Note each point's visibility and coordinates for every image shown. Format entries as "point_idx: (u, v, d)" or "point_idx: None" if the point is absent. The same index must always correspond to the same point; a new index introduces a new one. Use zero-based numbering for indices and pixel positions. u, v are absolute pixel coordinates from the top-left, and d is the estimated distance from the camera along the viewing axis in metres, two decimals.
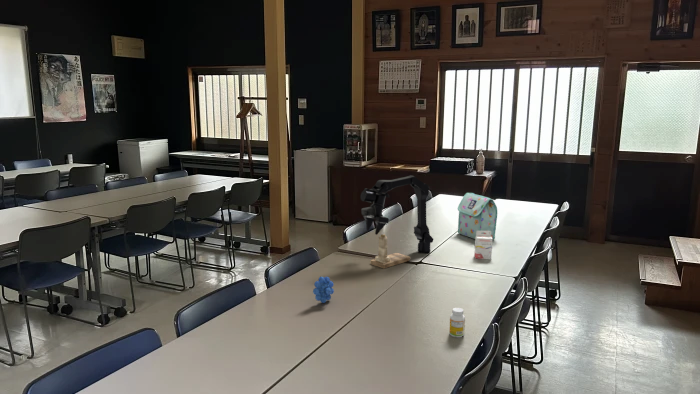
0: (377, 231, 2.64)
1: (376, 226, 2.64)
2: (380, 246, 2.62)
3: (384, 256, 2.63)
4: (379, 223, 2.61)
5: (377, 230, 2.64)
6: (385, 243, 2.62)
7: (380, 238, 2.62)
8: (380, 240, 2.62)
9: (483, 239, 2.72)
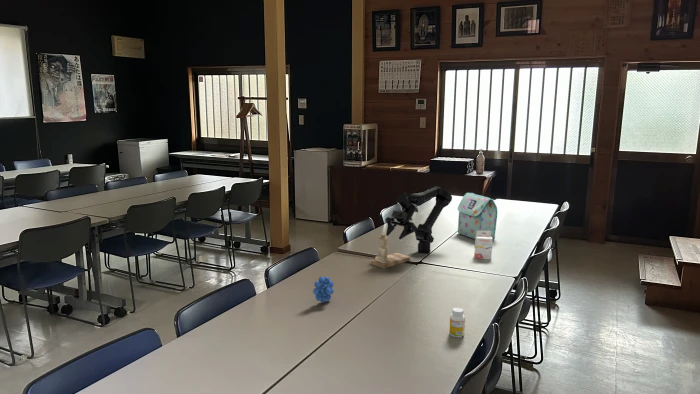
0: (402, 236, 2.64)
1: (403, 231, 2.65)
2: (380, 246, 2.62)
3: (384, 256, 2.63)
4: (408, 228, 2.63)
5: (402, 235, 2.64)
6: (385, 243, 2.62)
7: (380, 238, 2.62)
8: (380, 240, 2.62)
9: (483, 239, 2.72)
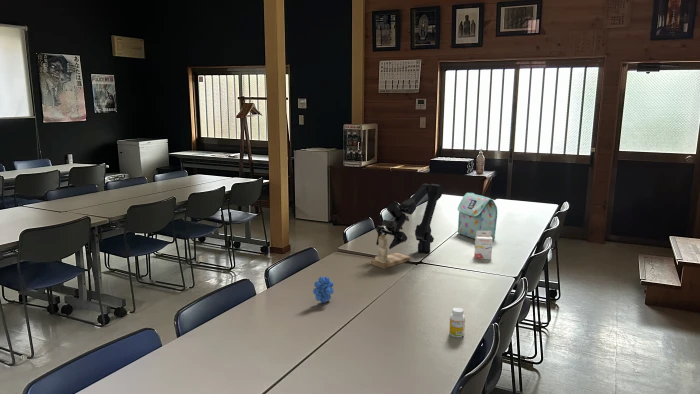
0: (392, 246, 2.60)
1: (393, 240, 2.60)
2: (380, 246, 2.62)
3: (384, 256, 2.63)
4: (399, 237, 2.59)
5: (392, 244, 2.60)
6: (385, 243, 2.62)
7: (380, 238, 2.62)
8: (380, 240, 2.62)
9: (483, 239, 2.72)
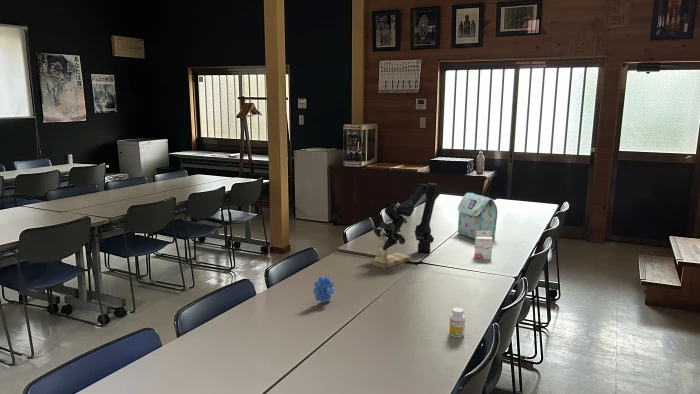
0: (386, 247, 2.61)
1: (387, 242, 2.62)
2: (380, 246, 2.62)
3: (384, 256, 2.63)
4: (392, 239, 2.60)
5: (386, 246, 2.61)
6: (385, 243, 2.62)
7: (380, 238, 2.62)
8: (380, 240, 2.62)
9: (483, 239, 2.72)
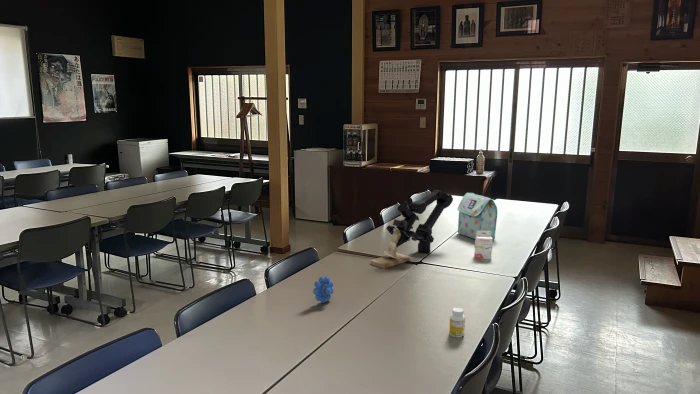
0: (399, 244, 2.68)
1: (400, 238, 2.68)
2: (392, 241, 2.68)
3: (393, 251, 2.67)
4: (405, 236, 2.67)
5: (399, 243, 2.68)
6: (398, 239, 2.68)
7: (395, 233, 2.69)
8: (394, 235, 2.69)
9: (483, 239, 2.72)
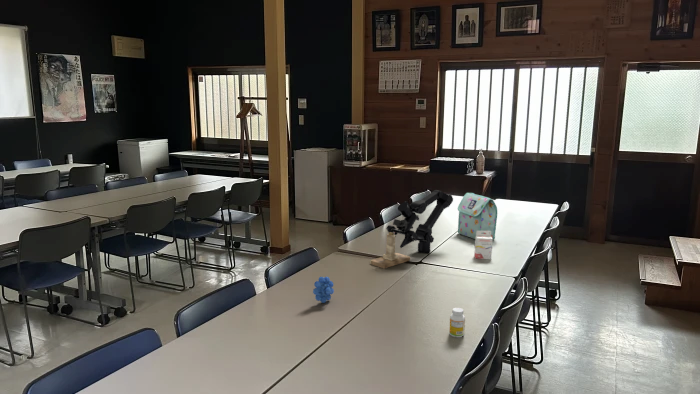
0: (403, 244, 2.66)
1: (404, 239, 2.66)
2: (388, 244, 2.66)
3: (392, 254, 2.67)
4: (409, 237, 2.65)
5: (403, 243, 2.66)
6: (393, 241, 2.66)
7: (388, 236, 2.66)
8: (388, 238, 2.66)
9: (483, 239, 2.72)
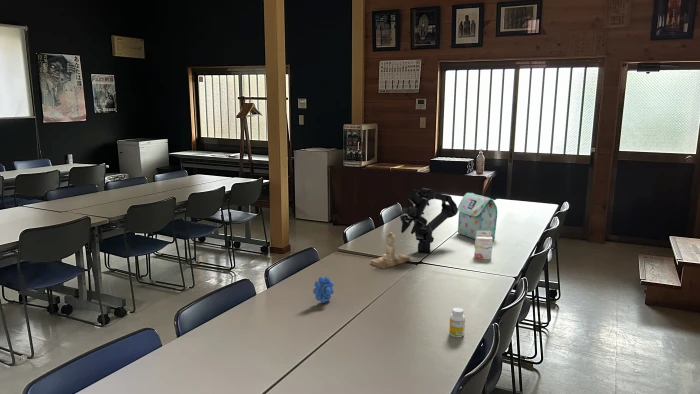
0: (413, 230, 2.71)
1: None
2: (388, 244, 2.66)
3: (392, 254, 2.67)
4: (418, 222, 2.69)
5: (413, 229, 2.71)
6: (393, 241, 2.66)
7: (388, 236, 2.65)
8: (388, 238, 2.66)
9: (483, 239, 2.72)
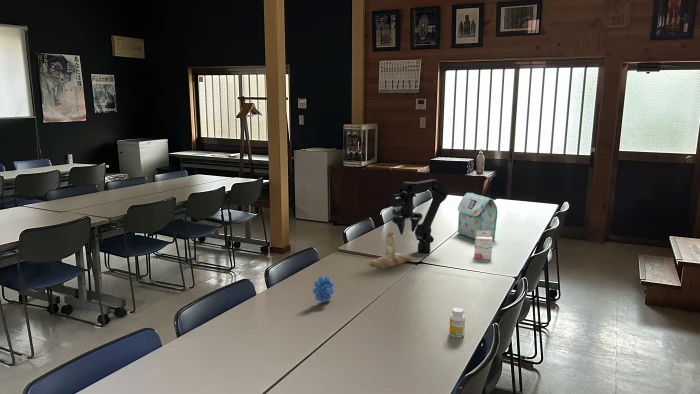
0: (400, 231, 2.74)
1: None
2: (388, 244, 2.66)
3: (392, 254, 2.67)
4: None
5: (400, 230, 2.74)
6: (393, 241, 2.66)
7: (388, 236, 2.65)
8: (388, 238, 2.66)
9: (483, 239, 2.72)
